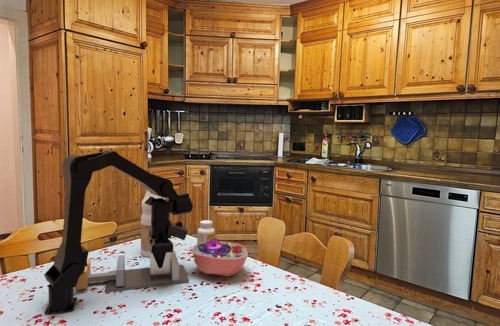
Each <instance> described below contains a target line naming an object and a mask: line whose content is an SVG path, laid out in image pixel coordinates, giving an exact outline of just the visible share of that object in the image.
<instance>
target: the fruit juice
mask: <svg viewBox="0 0 500 326" xmlns="http://www.w3.org/2000/svg"><path fill="white" fill-rule="evenodd" d="M150 196H151V197H154V198H163V197H160V196H157V195H154V194H152V193H150V192H149V191H148V190H147V189H146V193H145V195H144V198H143V199H142V200H141V205H140V206H141V211H142V212H141V216H140V254H141V256H143V257H145V258H150V249H151V244H150V239H151V238H149V230H150V229H151V206H150V205H147V204H145V203H144V202H145V201H146V200H147V199H149V197H150ZM163 199H164V200H166V198H163Z"/></svg>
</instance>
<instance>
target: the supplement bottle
mask: <svg viewBox="0 0 500 326" xmlns="http://www.w3.org/2000/svg"><path fill="white" fill-rule="evenodd" d="M199 222H200V223H199V225H200V227H199V228H197V237H196V238H197V241H196V243H197V244H199V243H202V242H206V241H207V240H208V239H211V238H216V230H215V228H214V227H213V224H214V223H213V221H212V220H209V219H207V220H206V219H205V220H200V221H199ZM197 244H196V245H197Z"/></svg>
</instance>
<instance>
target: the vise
mask: <svg viewBox="0 0 500 326" xmlns="http://www.w3.org/2000/svg"><path fill="white" fill-rule="evenodd" d="M108 272H116V270H111V271H108ZM105 282H106V283H105V286H104V293H110V292H111V293H112V292H119V291H121V292H122V291H127V290H136V289H137V290H138V289H146V288H153V287H162V286H170V285H171V286H172V285H180V284H189V282H190V279H189V277H188V274H187V271H186V268H185V266H184V264H180V263H179V260H178V257H177V254H176V251H175V250H173V252H171V257H170V273H166V274H156V275H151V274H150V267H141V268H140V267H139V268H131V269H125V272H124V286H118V287H116V280H109V281H105Z"/></svg>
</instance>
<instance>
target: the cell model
mask: <svg viewBox="0 0 500 326" xmlns="http://www.w3.org/2000/svg"><path fill="white" fill-rule="evenodd" d="M191 253H192V255H193V259H194V263H195V265H196V267H197V268H198V269H199V270H200V272H201V273H204V274H207V275H213V276H214V275H219V276H223V277H231V276H234V275H235V274H237V273H238V272H240V271H241V270H242V269H243V267H244V265H245V264H246V260H247V258H248V256H249V253H248V250H247V247H245V246H244V245H242V244H240V243H237V242H230V241H222V240H219V239H218V238H216V237H215V238H211V239H208V240H207V241H206V242H202V243H199V244H195V245H194V246H193V247H192V248H191Z"/></svg>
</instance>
